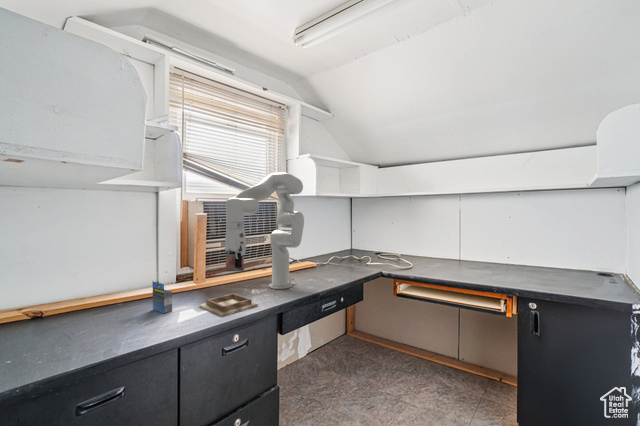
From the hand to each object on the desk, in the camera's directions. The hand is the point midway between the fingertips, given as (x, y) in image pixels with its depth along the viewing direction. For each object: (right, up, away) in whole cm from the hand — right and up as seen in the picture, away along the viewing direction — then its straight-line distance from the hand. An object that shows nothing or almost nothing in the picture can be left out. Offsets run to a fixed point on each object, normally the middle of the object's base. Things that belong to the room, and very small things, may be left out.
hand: (234, 266), depth 136 cm
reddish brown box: (0, -2, 0) cm, 2 cm away
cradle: (-2, -18, 0) cm, 18 cm away
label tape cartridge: (-29, -18, -6) cm, 35 cm away
